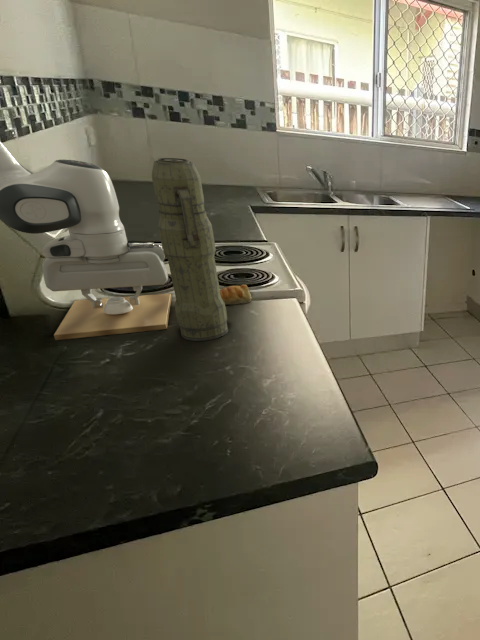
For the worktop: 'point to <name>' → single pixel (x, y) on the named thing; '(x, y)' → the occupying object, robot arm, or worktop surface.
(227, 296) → the pastry
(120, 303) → the white bowl
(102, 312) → the board
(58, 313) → the worktop surface
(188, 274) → the beige stone tall figure
